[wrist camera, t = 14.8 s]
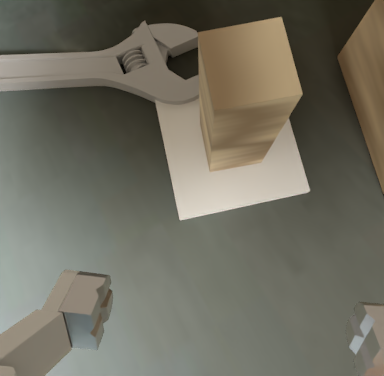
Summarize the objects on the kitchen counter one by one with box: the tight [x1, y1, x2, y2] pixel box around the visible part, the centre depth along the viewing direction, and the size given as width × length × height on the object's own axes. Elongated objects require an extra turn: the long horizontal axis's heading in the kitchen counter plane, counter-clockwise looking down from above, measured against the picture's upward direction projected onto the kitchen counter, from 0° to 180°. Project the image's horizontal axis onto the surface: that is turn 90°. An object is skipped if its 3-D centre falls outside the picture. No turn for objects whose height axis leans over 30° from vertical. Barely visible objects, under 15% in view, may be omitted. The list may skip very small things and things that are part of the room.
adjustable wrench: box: [0, 21, 199, 105], centre depth 26 cm, size 25×6×2 cm, turn 87°
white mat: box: [155, 98, 310, 220], centre depth 24 cm, size 9×9×1 cm
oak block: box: [198, 17, 303, 172], centre depth 19 cm, size 4×4×10 cm
